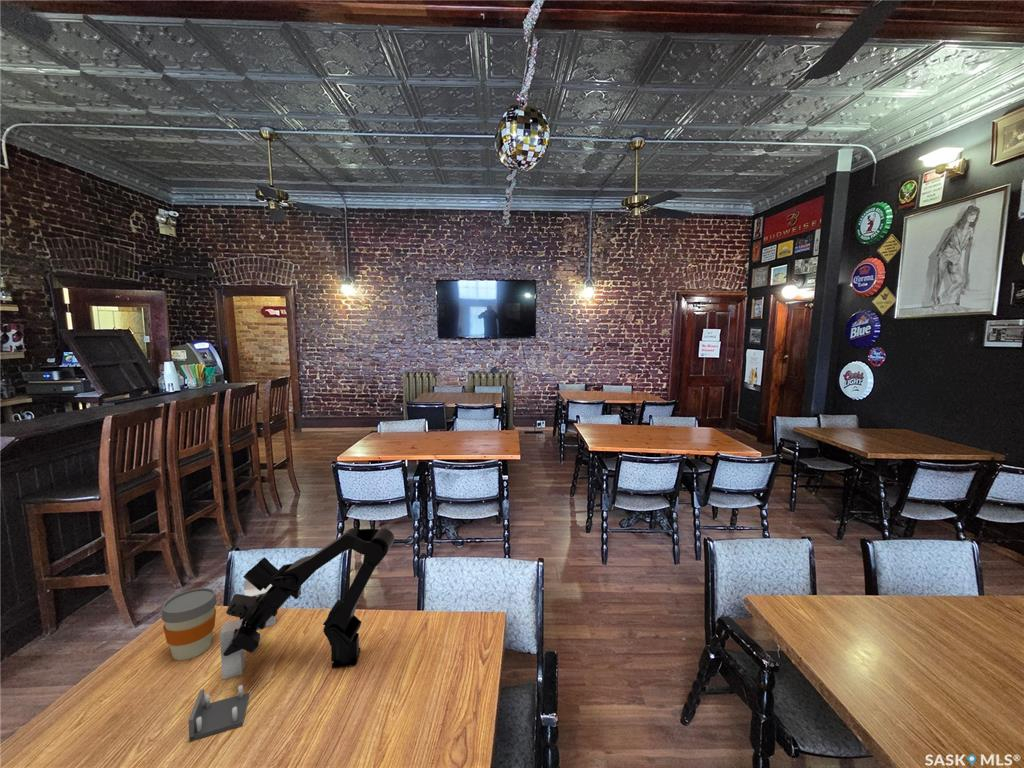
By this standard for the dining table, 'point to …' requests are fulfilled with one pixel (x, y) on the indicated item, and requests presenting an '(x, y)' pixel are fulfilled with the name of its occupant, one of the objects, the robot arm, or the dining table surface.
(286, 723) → the dining table surface
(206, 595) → the reusable coffee cup
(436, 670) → the dining table surface
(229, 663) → the silver tall square block
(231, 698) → the drive dock
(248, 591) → the ink box
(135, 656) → the dining table surface
